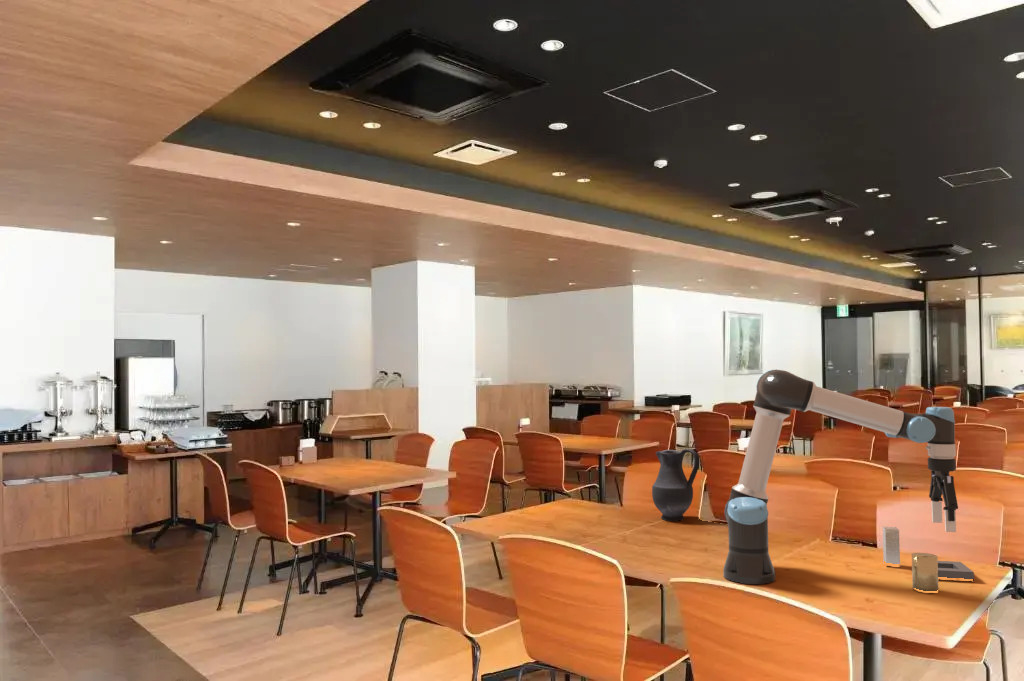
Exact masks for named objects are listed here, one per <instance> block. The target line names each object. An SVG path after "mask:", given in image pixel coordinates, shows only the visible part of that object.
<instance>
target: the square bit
mask: <svg viewBox="0 0 1024 681" xmlns="http://www.w3.org/2000/svg"><path fill="white" fill-rule="evenodd" d="M900 546H901V545H900V529H899V528H898V527H897V526H896V527H895V526H882V553H883V554H882V555H883V556H882V557H883V562H884V561H885V562H886V563H892V564H900V565H901V556H900V555H901V549H900Z"/></svg>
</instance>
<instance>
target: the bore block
mask: <svg viewBox="0 0 1024 681" xmlns="http://www.w3.org/2000/svg"><path fill="white" fill-rule="evenodd" d="M938 577H947V578H964V579H974V580H975V572H974V571H973V570H972V569H971V568H970V567H968V566H966V565H965V564H964V563H963V562H961V561H952V560H938Z"/></svg>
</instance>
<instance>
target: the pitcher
mask: <svg viewBox="0 0 1024 681" xmlns="http://www.w3.org/2000/svg"><path fill="white" fill-rule="evenodd" d="M686 453H689V454H691V455H693V457H694V464H693V466H692V467H693V468H692V470H691V473H690V475H689V478H687V477H686V475H685V472H684V470H683V468H684V467H683V460H684V456H685V455H686ZM655 455H656V457H657V458H658V461H659V464H660V467H659V471H658V474H657V477H656V480H655V482H653V485H652V488H651V495H652V496H651V497H652V500H653V504H654V506H655V507H656V509H658V511H660V513H661V514H662V515H661V517H660V519H662V521H668V522H669V521H670V522H679V521H678V520H682V521H684V520H685V517H684V514H685V513H686V511H688V509H689V508H690V507H691V505H692V503H693V499H694V489H693V484H694V480H695V479H696V476H697V472H698V471H699V468H700V467H699V466H700V457H699V454H698V453H697V452H696V451H695V450H694V449H691V448H685V449H682V450H681V451H680V450H674V449H666V450H662V451H661V450H659V451H656V452H655ZM683 519H684V520H683Z"/></svg>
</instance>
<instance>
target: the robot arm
mask: <svg viewBox="0 0 1024 681" xmlns="http://www.w3.org/2000/svg"><path fill="white" fill-rule="evenodd" d="M752 406H753V407H752V408H754V410H755V412H756V414H755V417H754V421H753V425H752V429H751V433H750V436H749V440H748V444H747V449H746V452H745V456H744V459H743V463H742V467H741V472H740V475H739V479H738V483H737V484H735V485H733V486H732V487H731V490H730V494H729V498H728V500H727V503H726V504H725V507H724V517H725V520H726V521H727V525H728V526H727V527H728V528H727V529H728V553H727V556H726V560H725V563H724V565H723V570H722V571H723V572H722V574H723V578H725V579H726V580H728V581H730V580H731V582H734V581H735V583H738V582H740V583H739V584H745V585H747V584H748V585H766V584H765V583H767V584H770V582H771V583H773V582H775V581H776V570H775V568H774V565H773V563H772V562H773V561H772V559H771V556H770V553H769V551H770V550H769V521H768V520H769V519H768V518H769V517H768V516H769V510H768V502H769V496H768V494H767V493H766V489H767V487H768V481H769V477H770V475H771V470H772V466H773V462H774V459H775V454H776V452H777V448H778V447H777V446H778V443H779V439H780V436H781V433H782V432H781V431H782V428H783V423H784V420H786V418H789V417H790V416H791V414H792V410H796V411H800V412H803V413H805V412H807V411H811V412H814V413H818V414H822V415H824V416H829V417H832V418H835V419H838V420H841V421H845V422H848V423H852V424H856V425H857V426H861V427H865V428H868V429H872V430H875V431H879V432H881V433H884V434H885V436H886V437H887V438H895V439H898V438H899V439H900V438H902V439H905V440H909V441H912V442H914V443H917V444H922V443H926V444H927V446H925V450H927V456H929V457H928V458H927V469H928V470H929V471H930V473H931V475H930V476H931V477H930V485H929V492H928V493H929V494H928V497H929V498H930V501H931V522H932V523H936V524H939V523H941V524H943V511H944V528H945V529H944V531H945V533H946V532H947V533H956V532H957V521H956V520H957V518H956V513H957V512H956V511H957V510H959V505H958V500H957V499H958V498H957V494H956V493H957V492H956V488H955V481H954V479H955V478H954V476H953V475H950V472H956V471H957V460H956V458H955V457H956V456H957V453H956V452H957V451H956V450H957V449H956V447H957V446H956V431H955V430H956V426H955V424H956V421H955V411H954V409H953V408H952V407H950V406H949V407H948V406H928V407H926V409H925V413H910V412H906V411H903V410H899V409H897V408H892V407H889V406H885V405H882V404H879V403H876V402H873V401H872V402H871V401H868V400H865V399H862V398H858V397H855V396H852V395H848V394H844V393H841V392H838V391H835V390H831V389H827V388H824V387H821V386H817V385H816V384H815V382H814V381H811V380H808V379H806V378H802V377H800V376H798V375H795V374H793V373H792V372H790V371H786V370H783V369H771V370H767V371H766V372H764V373H763V374H762V375H761V376H760V377H759V379H758V381H757V383H756V394H755V397H754V401H753V405H752ZM942 502H944V507H943V503H942ZM774 580H775V581H774Z"/></svg>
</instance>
